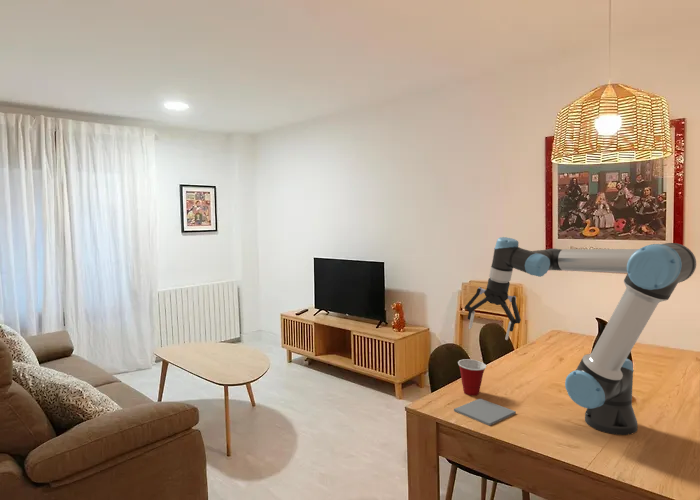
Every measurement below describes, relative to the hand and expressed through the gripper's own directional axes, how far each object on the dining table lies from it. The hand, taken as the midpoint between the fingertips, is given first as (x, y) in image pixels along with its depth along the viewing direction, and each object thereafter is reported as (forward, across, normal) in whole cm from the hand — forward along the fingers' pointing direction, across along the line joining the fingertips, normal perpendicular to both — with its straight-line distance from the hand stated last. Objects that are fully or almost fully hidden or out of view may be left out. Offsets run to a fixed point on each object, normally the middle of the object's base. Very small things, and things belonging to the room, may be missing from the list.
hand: (488, 333), depth 173 cm
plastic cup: (+27, +1, -1) cm, 27 cm away
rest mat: (+23, -6, +15) cm, 28 cm away
